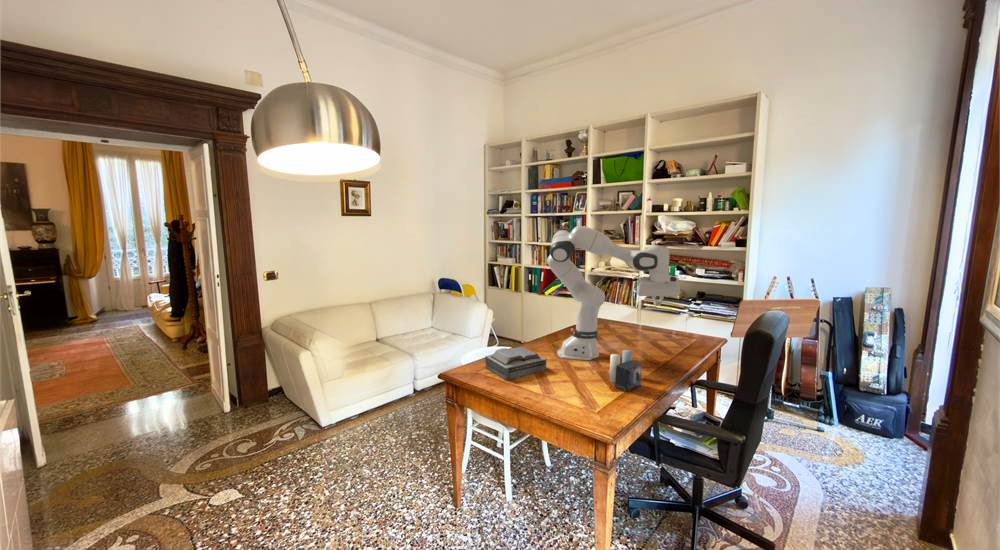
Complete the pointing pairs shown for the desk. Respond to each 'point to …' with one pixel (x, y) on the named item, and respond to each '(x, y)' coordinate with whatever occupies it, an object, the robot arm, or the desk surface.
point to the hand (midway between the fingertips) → (657, 304)
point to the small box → (628, 376)
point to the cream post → (613, 366)
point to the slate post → (626, 355)
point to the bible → (514, 363)
